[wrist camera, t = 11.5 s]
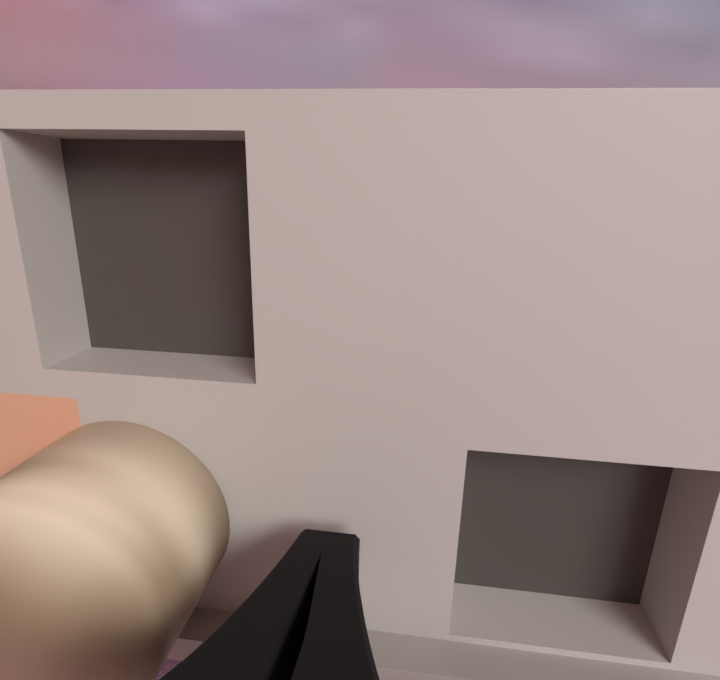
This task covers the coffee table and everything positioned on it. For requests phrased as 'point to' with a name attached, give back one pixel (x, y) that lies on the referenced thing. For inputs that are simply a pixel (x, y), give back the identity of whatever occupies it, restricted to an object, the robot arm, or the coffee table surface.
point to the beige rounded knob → (104, 553)
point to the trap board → (398, 348)
